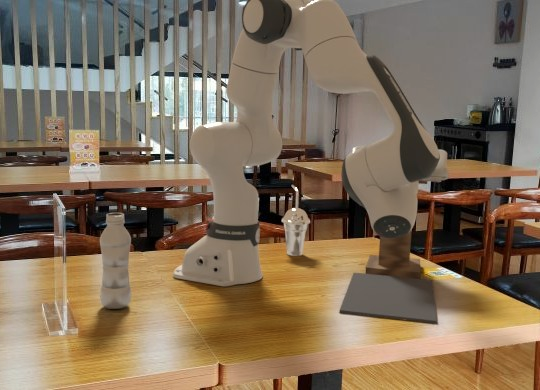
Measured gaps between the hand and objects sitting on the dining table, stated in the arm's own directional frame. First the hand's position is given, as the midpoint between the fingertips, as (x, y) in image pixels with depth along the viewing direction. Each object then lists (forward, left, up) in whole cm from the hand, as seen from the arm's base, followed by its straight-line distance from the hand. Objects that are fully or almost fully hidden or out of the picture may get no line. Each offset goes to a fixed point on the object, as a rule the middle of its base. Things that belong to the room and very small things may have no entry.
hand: (400, 142), depth 132 cm
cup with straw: (-29, +31, -36) cm, 56 cm away
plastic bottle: (-56, -27, -36) cm, 72 cm away
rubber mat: (0, 0, -36) cm, 36 cm away
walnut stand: (0, +23, -36) cm, 43 cm away
